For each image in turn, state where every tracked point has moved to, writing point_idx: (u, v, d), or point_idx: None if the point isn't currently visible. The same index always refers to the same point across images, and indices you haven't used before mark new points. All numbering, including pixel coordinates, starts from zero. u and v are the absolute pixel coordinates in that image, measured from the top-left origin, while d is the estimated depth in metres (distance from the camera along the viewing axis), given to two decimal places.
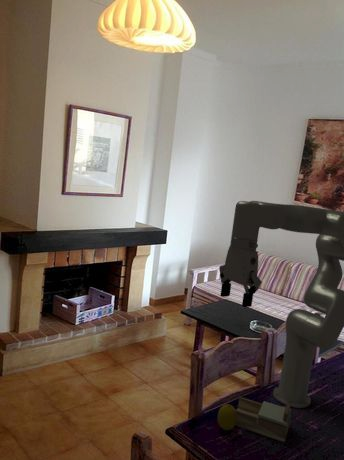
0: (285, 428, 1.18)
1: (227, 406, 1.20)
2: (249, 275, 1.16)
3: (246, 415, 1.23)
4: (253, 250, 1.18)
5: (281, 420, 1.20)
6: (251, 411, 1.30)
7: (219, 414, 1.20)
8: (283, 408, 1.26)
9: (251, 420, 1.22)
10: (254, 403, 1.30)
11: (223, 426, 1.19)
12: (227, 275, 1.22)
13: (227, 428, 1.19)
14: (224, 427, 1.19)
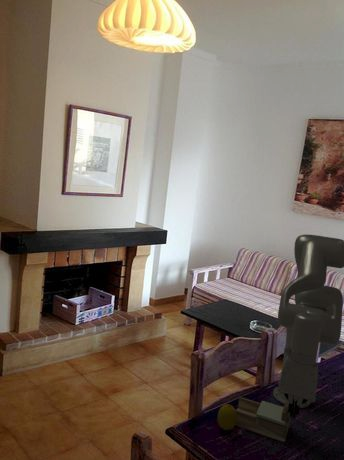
0: (285, 428, 1.18)
1: (227, 406, 1.20)
2: None
3: (246, 415, 1.23)
4: (288, 357, 1.20)
5: (279, 419, 1.20)
6: (251, 411, 1.30)
7: (219, 414, 1.20)
8: (281, 407, 1.27)
9: (251, 420, 1.22)
10: (254, 403, 1.30)
11: (223, 426, 1.19)
12: None
13: (227, 428, 1.19)
14: (224, 427, 1.19)
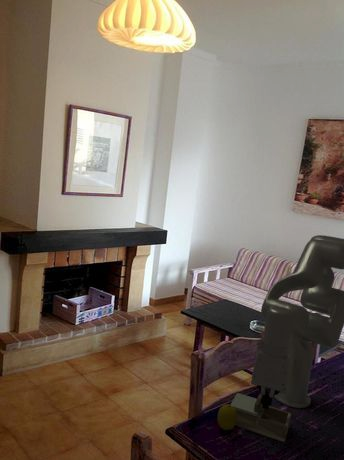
0: (285, 428, 1.18)
1: (227, 406, 1.20)
2: None
3: (246, 415, 1.23)
4: (261, 349, 1.23)
5: (252, 411, 1.23)
6: None
7: (219, 414, 1.20)
8: (255, 399, 1.30)
9: (251, 420, 1.22)
10: None
11: (223, 426, 1.19)
12: None
13: (227, 428, 1.19)
14: (224, 427, 1.19)
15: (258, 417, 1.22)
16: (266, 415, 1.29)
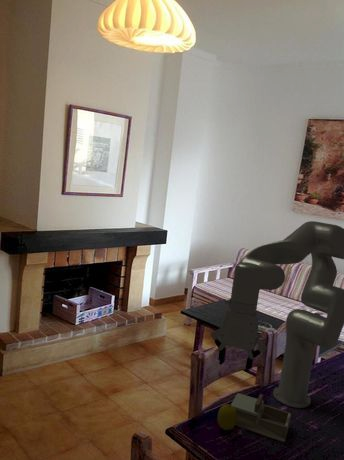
0: (285, 428, 1.18)
1: (227, 406, 1.20)
2: None
3: (246, 415, 1.23)
4: (229, 308, 1.18)
5: (252, 411, 1.23)
6: None
7: (219, 414, 1.20)
8: (256, 399, 1.29)
9: (251, 420, 1.22)
10: None
11: (223, 426, 1.19)
12: None
13: (227, 428, 1.19)
14: (224, 427, 1.19)
15: (258, 417, 1.22)
16: (266, 415, 1.29)
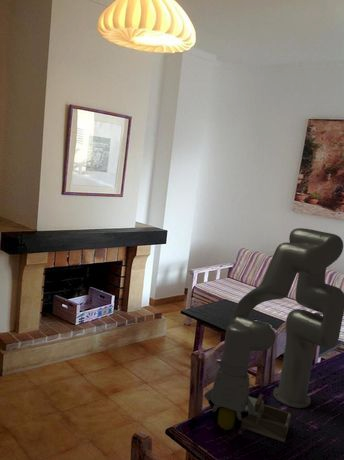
0: (285, 428, 1.18)
1: None
2: None
3: None
4: (220, 368, 1.20)
5: None
6: None
7: (219, 414, 1.20)
8: (256, 399, 1.29)
9: (251, 420, 1.22)
10: None
11: (223, 426, 1.19)
12: None
13: (227, 428, 1.19)
14: (224, 427, 1.19)
15: (258, 417, 1.22)
16: (266, 415, 1.29)
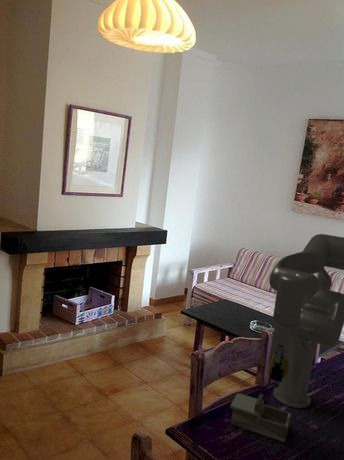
0: (285, 428, 1.18)
1: None
2: None
3: (246, 415, 1.23)
4: None
5: (252, 411, 1.23)
6: None
7: None
8: (256, 399, 1.29)
9: (251, 420, 1.22)
10: None
11: None
12: (287, 355, 1.18)
13: (270, 372, 1.23)
14: None
15: (258, 417, 1.22)
16: (266, 415, 1.29)
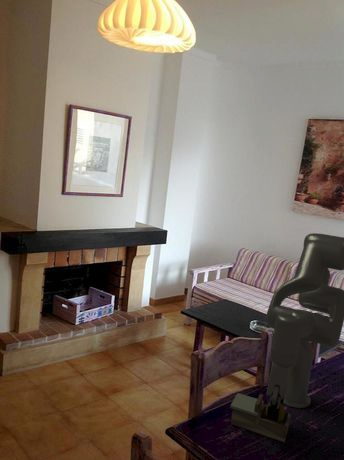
0: (285, 428, 1.18)
1: None
2: None
3: (246, 415, 1.23)
4: None
5: (252, 411, 1.23)
6: None
7: None
8: (256, 399, 1.29)
9: (251, 420, 1.22)
10: None
11: None
12: (284, 394, 1.20)
13: (266, 417, 1.24)
14: None
15: (258, 417, 1.22)
16: None
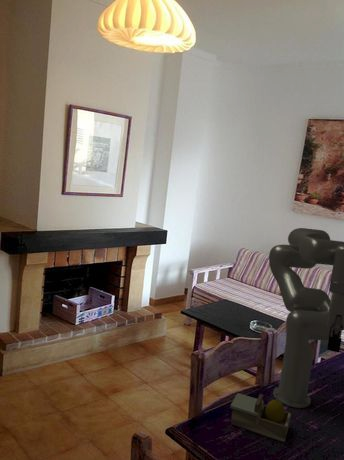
0: (285, 428, 1.18)
1: (274, 400, 1.24)
2: None
3: (246, 415, 1.23)
4: None
5: (252, 411, 1.23)
6: None
7: None
8: (256, 399, 1.29)
9: (251, 420, 1.22)
10: None
11: None
12: None
13: None
14: None
15: (258, 417, 1.22)
16: None
